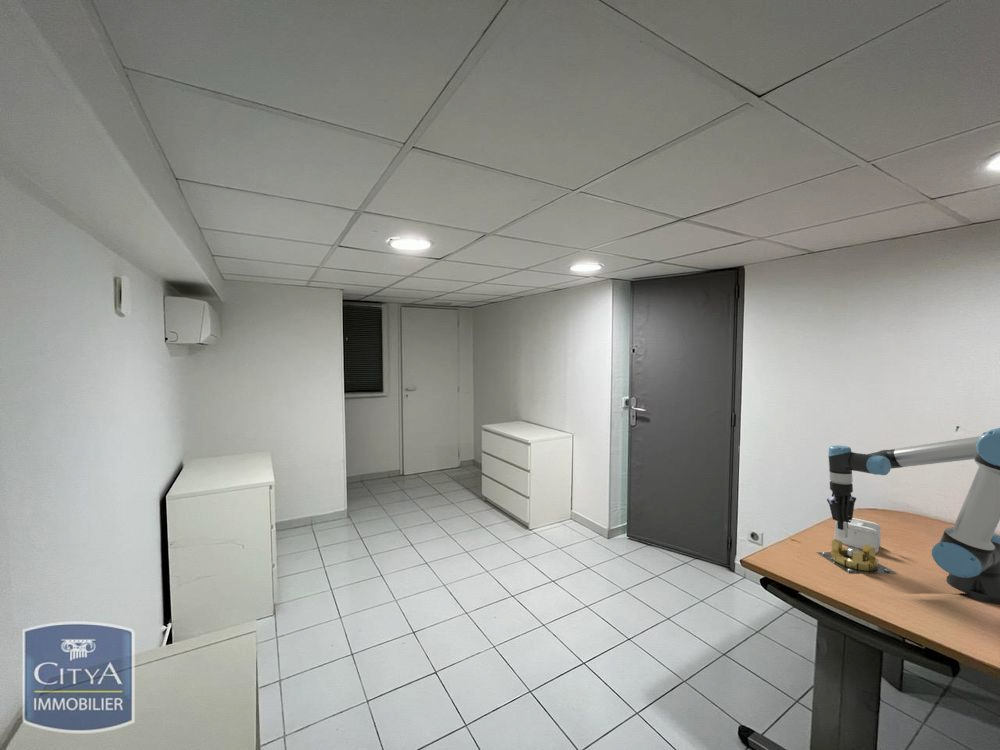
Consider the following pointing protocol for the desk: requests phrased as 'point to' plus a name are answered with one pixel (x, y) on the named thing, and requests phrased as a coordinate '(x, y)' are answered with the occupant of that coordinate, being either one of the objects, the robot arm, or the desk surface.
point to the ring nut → (855, 557)
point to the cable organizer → (861, 534)
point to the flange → (849, 570)
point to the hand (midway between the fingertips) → (843, 536)
